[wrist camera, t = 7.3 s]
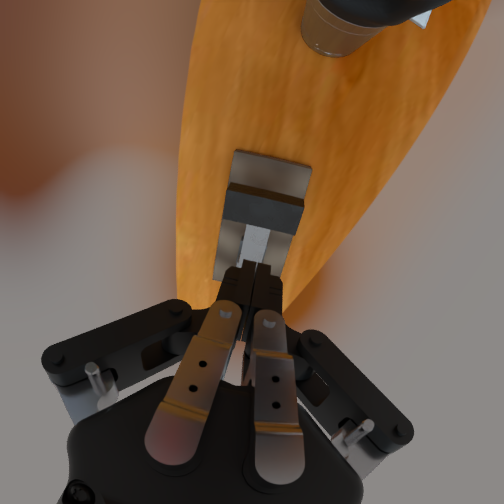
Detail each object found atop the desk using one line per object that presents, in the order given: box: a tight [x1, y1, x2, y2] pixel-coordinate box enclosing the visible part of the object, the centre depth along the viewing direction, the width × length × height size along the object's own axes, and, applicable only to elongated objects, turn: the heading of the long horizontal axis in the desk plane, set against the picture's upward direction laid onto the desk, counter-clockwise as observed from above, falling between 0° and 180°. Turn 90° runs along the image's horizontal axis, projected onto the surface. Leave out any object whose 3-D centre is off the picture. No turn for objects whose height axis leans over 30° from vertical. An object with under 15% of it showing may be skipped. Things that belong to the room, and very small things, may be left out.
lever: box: [222, 182, 304, 271], centre depth 39 cm, size 21×9×4 cm, turn 169°
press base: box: [212, 149, 312, 282], centre depth 42 cm, size 24×12×11 cm, turn 168°
